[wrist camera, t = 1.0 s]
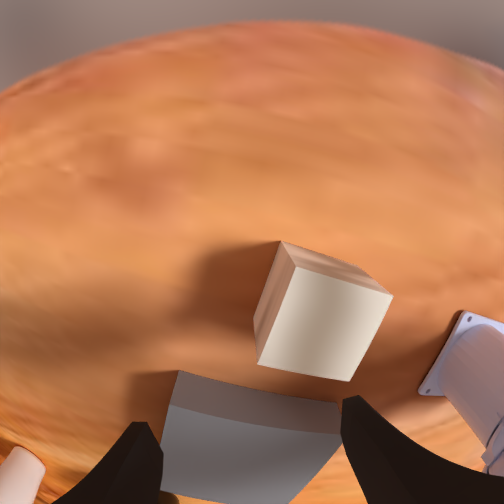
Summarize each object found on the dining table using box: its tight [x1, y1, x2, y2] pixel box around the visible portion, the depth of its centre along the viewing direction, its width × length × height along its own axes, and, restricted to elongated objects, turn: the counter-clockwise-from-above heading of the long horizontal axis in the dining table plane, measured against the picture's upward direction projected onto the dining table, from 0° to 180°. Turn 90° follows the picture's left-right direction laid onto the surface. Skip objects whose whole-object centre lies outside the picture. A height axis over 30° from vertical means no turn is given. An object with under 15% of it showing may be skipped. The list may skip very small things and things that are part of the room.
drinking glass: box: [0, 446, 46, 504], centre depth 16 cm, size 7×7×15 cm
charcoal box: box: [160, 370, 343, 504], centre depth 19 cm, size 12×12×4 cm
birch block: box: [253, 241, 393, 381], centre depth 15 cm, size 5×5×5 cm
